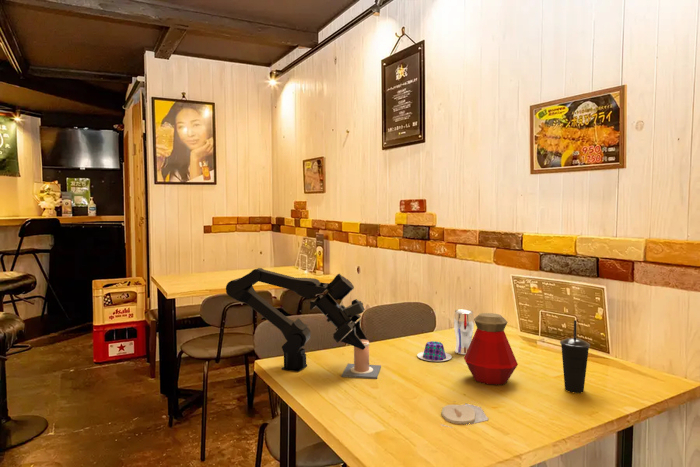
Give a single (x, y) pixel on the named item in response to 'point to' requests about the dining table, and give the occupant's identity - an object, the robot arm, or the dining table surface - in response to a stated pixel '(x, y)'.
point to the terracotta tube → (361, 357)
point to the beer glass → (463, 330)
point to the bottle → (490, 351)
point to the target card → (371, 373)
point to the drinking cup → (574, 362)
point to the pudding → (434, 352)
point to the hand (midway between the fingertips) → (366, 345)
